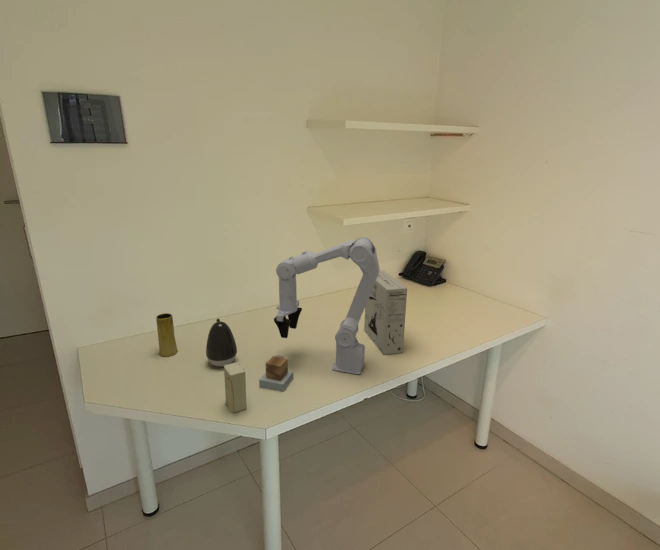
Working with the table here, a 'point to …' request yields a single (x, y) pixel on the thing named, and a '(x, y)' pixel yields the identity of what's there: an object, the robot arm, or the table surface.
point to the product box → (386, 314)
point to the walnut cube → (276, 368)
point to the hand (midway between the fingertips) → (288, 332)
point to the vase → (166, 335)
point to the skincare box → (235, 387)
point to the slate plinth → (276, 382)
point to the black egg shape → (220, 345)
